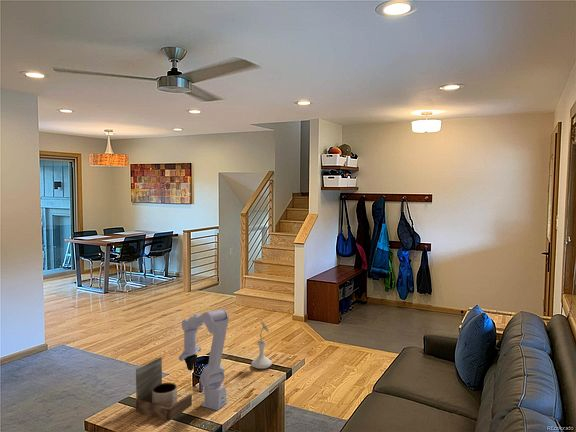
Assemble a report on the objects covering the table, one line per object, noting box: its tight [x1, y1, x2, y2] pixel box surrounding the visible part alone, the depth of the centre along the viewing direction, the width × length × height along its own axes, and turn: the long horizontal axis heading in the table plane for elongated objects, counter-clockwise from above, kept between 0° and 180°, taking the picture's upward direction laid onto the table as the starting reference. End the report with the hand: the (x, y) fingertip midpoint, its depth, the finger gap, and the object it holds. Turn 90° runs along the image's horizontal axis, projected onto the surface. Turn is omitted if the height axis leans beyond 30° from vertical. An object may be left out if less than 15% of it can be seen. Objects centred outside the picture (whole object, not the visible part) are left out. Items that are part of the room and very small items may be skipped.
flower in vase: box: [250, 320, 273, 370], centre depth 235 cm, size 13×11×25 cm
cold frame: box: [135, 357, 193, 422], centre depth 188 cm, size 18×15×19 cm
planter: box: [152, 382, 178, 408], centre depth 188 cm, size 11×11×10 cm
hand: (190, 369), depth 207 cm, fingers closed
